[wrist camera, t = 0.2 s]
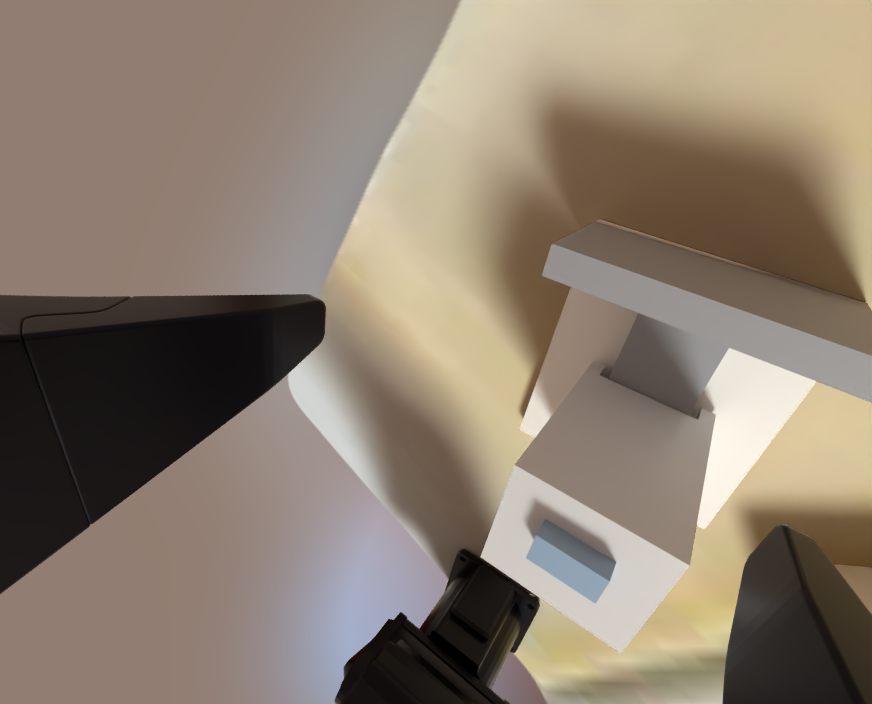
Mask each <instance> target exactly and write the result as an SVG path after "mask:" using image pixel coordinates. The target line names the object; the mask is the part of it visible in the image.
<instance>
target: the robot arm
mask: <svg viewBox="0 0 872 704" xmlns="http://www.w3.org/2000/svg"><path fill="white" fill-rule="evenodd" d="M325 318H326V306H325V303H324V302H323V301H322V300H320V299H318V298H316V297H313V296H311V295H307V294H304V295H302V294H299V295H298V294H297V295H224V296H223V295H220V296H219V295H217V296H215V295H213V296H134V297H132V298H131V297H129V296H127V297H126V296H125V297H124V296H123V297H65V296H64V297H63V296H19V295H18V296H16V295H0V594H1V593H2V592H4V591H5V590H6V589H8V588H9V587H10V586H12V585H13V584H14V583H16V582H17V581H18V580H19V579H21V578H22V577H24V576H25V575H26V574H28V573H29V572H30V571H32V570H33V569H34V568H35V567H37V566H38V565H39V564H41V563H42V562H43V561H45V560H46V559H47V558H49V557H50V556H51V555H53V554H54V553H55V552H57V551H58V550H59V549H61V548H62V547H63V546H65V545H66V544H67V543H68V542H70V541H71V540H72V539H74V538H75V537H76V536H78V535H79V534H80V533H82V532H83V531H84V530H86V529H87V528H88V527H89V526H90V524H93V523H94V522H96V521H97V520H98V519H100V518H101V517H102V516H104V515H105V514H106V513H107V512H109V511H110V510H111V509H113V508H114V507H115V506H117V505H118V504H119V503H121V502H122V501H123V500H125V499H126V498H127V497H129V496H130V495H131V494H133V493H134V492H135V491H137V490H138V489H139V488H141V487H142V486H143V485H145V484H146V483H147V482H148V481H150V480H151V479H152V478H154V477H155V476H156V475H158V474H159V473H160V472H162V471H163V470H164V469H166V468H167V467H168V466H170V465H171V464H172V463H173V462H175V461H176V460H178V459H179V458H180V457H181V456H183V455H184V454H185V453H187V452H188V451H189V450H191V449H192V448H193V447H195V446H196V445H197V444H199V443H200V442H201V441H203V440H204V439H205V438H206V437H208V436H209V435H211V434H212V433H213V432H214V431H216V430H217V429H218V428H220V427H221V426H222V425H224V424H225V423H226V422H227V421H229V420H230V419H232V418H233V417H234V416H236V415H237V414H238V413H240V412H241V411H242V410H243V409H245V408H246V407H248V406H249V405H250V404H251V403H253V402H254V401H255V400H257V399H258V398H259V397H261V396H262V395H263V394H265V393H266V392H267V391H269V390H270V389H271V388H272V387H273V386H275V385H276V384H277V383H278V382H279V381H280V380H282V379H283V378H284V377H285V376H286V375H287V374H288V373H289V372H290V371H291V370H292V369H294V368H295V367H296V366H297V365H298V364H299V363H300V362H301V361H302V360H303V359H304V358H305V357H306V356H308V355H309V354H310V353H311V352H312V351H313V350H314V349H315V348H316V347H317V346H318V345H319V344H320V343H321V342H322V340H323V338H324V335H325ZM539 607H540V604H539V602H538V601H537V600H536V599H535V598H534V597H532V596H531V595H529V594H528V593H527V592H525V591H524V590H522V589H521V588H519V587H518V586H516V585H515V584H514V583H512V582H511V581H509V580H508V579H506V578H505V577H503V576H502V575H500V574H499V573H498V572H496V571H495V570H493V569H492V568H490V567H489V566H487V565H486V564H485V563H483V562H482V561H480V560H479V559H477V558H476V557H474V556H473V555H472V554H470V553H469V552H467V551H465V550H460V551H459V553H458V554H457V556H456V559H455V562H454V565H453V568H452V571H451V574H450V577H449V580H448V583H447V587H446V590H445V593H444V594H443V596H442V597H441V598H440V600H439V601H438V603H437V604H436V606H435V607H434V609H433V610H432V611H431V613H430V614H429V616H428V617H427V619H426V620H425V621H424V623H423V624H422V626H421V627H420V629H419V628H417V627H416V626H415V625H414V624H413V623H411V622H410V621H409V620H408V619H407V617H406V616H405V615H404V614H403V613H402V612H400V614H399V615H398V616H397V617H396V618H395V619H394V620H392V619H391V620H390V619H388V621H387V622H386V623H385V625H384V626H383V627H382V628H381V630H380V631H379V632H378V634H377V635H376V636H375V637H374V638H373V639H372V640H371V641H370V642H369V643H368V644H367V645H366V646H365V647H363V648H362V649H361V650H360V651H359V652H358V653H356V654H355V655H354V656H353V657H352V658H351V659H350V660H349V661H348V662H347V663H346V665H345V666H344V680H343V682H342V684H341V687H340V689H339V692H338V694H337V696H336V698H335V703H336V704H510V703H509V702H507V701H506V700H503V699H501V698H500V697H499V696H498V695H496V693H494V692H493V691H492V690H491V689H492V686H493V685H494V683H495V681H496V678H497V677H498V675H499V672H500V670H501V668H502V666H503V664H504V662H505V660H506V658H507V656H508V654H509V652H512V653H515V652H516V650H517V649H518V647H519V645H520V643H521V641H522V639H523V637H524V635H525V634H526V632H527V630H528V628H529V626H530V624H531V622H532V621H533V619H534V617H535V615H536V613H537V611H538V609H539ZM723 704H872V614H871V612H870V611H869V610H868V609H867V607H866V606H865V605H864V603H863V602H862V601H861V599H860V598H859V597H858V595H857V594H856V593H855V591H854V590H853V589H852V588H851V586H850V585H849V584H848V582H847V581H846V580H845V578H844V577H843V576H842V574H841V573H840V572H839V570H838V569H837V568H836V566H835V565H834V564H833V563H832V561H831V560H830V559H829V557H828V556H827V555H826V553H825V552H824V551H823V549H822V548H821V547H820V545H819V544H818V543H817V542H816V540H815V539H813V538H812V537H811V536H809V535H807V534H804V533H802V532H800V531H798V530H796V529H794V528H792V527H790V526H788V525H785V524H781V525H778V526H776V527H775V528H774V529H773V530H772V531H771V532H770V533H769V534H768V535H767V537H766V538H765V539H764V540H763V541H762V542H761V543H760V544H759V546H758V547H757V548H756V549H755V550H754V551H753V552H752V554H751V555H750V556H749V558H748V559H747V561H746V564H745V566H744V570H743V575H742V580H741V585H740V589H739V594H738V599H737V604H736V609H735V614H734V619H733V624H732V629H731V634H730V639H729V644H728V650H727V656H726V663H725V674H724V689H723Z"/></svg>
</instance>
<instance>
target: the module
mask: <svg viewBox="0 0 872 704" xmlns="http://www.w3.org/2000/svg"><path fill="white" fill-rule="evenodd" d="M605 367H606V366H605V365H603V364H601V363H598V362H596V361H593V362H592V363H591V365H590V366H589V367H588V369H587V370H586V371H585V373H584V374H583V375H582V377H581V378H580V379H579V380H578V382H577V383H576V384H575V386H574V387H573V388H572V390H571V391H570V392H569V394H568V395H567V396H566V398H565V399H564V400H563V402H562V403H561V404H560V406H559V407H558V408H557V410H556V411H555V412H554V414H553V415H552V416H551V418H550V419H549V420H548V421H547V423H546V424H545V425H544V427H543V428H542V429H541V431H540V432H539V433H538V435H537V436H536V437H535V439H534V440H533V441H532V443H531V444H530V445H529V447H528V448H527V449H526V451H525V452H524V453H523V455H522V456H521V457H520V459H519V460H518V461H517V463H516V464H515V465H514V468H513V471H512V474H511V476H510V479H509V482H508V484H507V487H506V490H505V492H504V495H503V498H502V500H501V503H500V506H499V508H498V511H497V514H496V516H495V519H494V522H493V525H492V527H491V530H490V533H489V535H488V538H487V541H486V543H485V546H484V549H483V551H482V554H481V558H483V559H484V560H485V561H487V562H488V563H490V564H491V565H493V566H494V567H496V568H497V569H499V570H500V571H501V572H503V573H504V574H506V575H507V576H509V577H510V578H512V579H513V580H515V581H516V582H517V583H519V584H520V585H522V586H523V587H525V588H526V589H528V590H529V591H531V592H532V593H533V594H535V595H536V596H538V597H539V598H541V599H542V600H544V601H545V602H547V603H548V604H549V605H551V606H552V607H554V608H555V609H557V610H558V611H560V612H561V613H563V614H564V615H565V616H567V617H568V618H570V619H571V620H573V621H574V622H576V623H577V624H579V625H580V626H581V627H583V628H584V629H586V630H587V631H589V632H590V633H592V634H593V635H595V636H596V637H597V638H599V639H600V640H602V641H603V642H605V643H606V644H608V645H609V646H611V647H612V648H613V649H615V650H616V651H618V652H619V653H622V651H623V650H624V649H625V648H626V646H627V645H628V644H629V643H630V641H631V640H632V639H633V637H634V636H635V635H636V634H637V632H638V631H639V630H640V628H641V627H642V626H643V625H644V623H645V622H646V621H647V619H648V618H649V617H650V616H651V614H652V613H653V612H654V611H655V609H656V608H657V607H658V605H659V604H660V603H661V602H662V600H663V599H664V598H665V596H666V595H667V594H668V593H669V591H670V590H671V589H672V588H673V586H674V585H675V584H676V582H677V581H678V580H679V579H680V577H681V576H682V575H683V573H684V572H685V571H686V570H687V568H688V567H689V566H690V560H691V555H692V549H693V543H694V538H695V532H696V526H697V520H698V515H699V509H700V503H701V497H702V492H703V486H704V480H705V474H706V469H707V463H708V457H709V451H710V446H711V440H712V434H713V429H714V423H715V417H716V414H714V413H711V412H709V411H707V410H705V409H702V408H701V409H700V411H699V413H698V414H697V416H696V417H695V418H693V417H691V416H689V415H686V414H684V413H682V412H680V411H678V410H675V409H673V408H671V407H669V406H667V405H664V404H662V403H660V402H658V401H656V400H653V399H651V398H649V397H647V396H644V395H642V394H640V393H638V392H636V391H633V390H631V389H629V388H627V387H625V386H622V385H620V384H618V383H616V382H614V381H611V380H609V379H607V378H605V377H603V376H601V375H602V373H603V371H604V369H605Z"/></svg>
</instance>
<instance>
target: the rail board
mask: <svg viewBox="0 0 872 704" xmlns="http://www.w3.org/2000/svg"><path fill="white" fill-rule="evenodd" d="M542 276H544V277H546V278H549V279H551V280H554V281H557V282H559V283H562V284H564V285H567V286H570V287H571V288H570V291H569V293H568V296H567V299H566V302H565V304H564V307H563V310H562V313H561V316H560V318H559V321H558V324H557V327H556V329H555V332H554V335H553V338H552V341H551V343H550V346H549V349H548V352H547V354H546V357H545V360H544V363H543V366H542V368H541V371H540V374H539V377H538V379H537V382H536V385H535V388H534V391H533V393H532V396H531V399H530V402H529V404H528V407H527V410H526V413H525V416H524V418H523V421H522V424H521V427H520V429H519V430H521V431H523V432H525V433H527V434H529V435H530V436H532V437H534V438H535V437H536V436H537V435H538V433H539V432H540V431H541V429H542V428H543V427H544V425H545V424H546V423H547V421H548V420H549V419H550V418H551V416H552V415H553V414H554V412H555V411H556V410H557V408H558V407H559V406H560V404H561V403H562V402H563V400H564V399H565V398H566V396H567V395H568V394H569V392H570V391H571V390H572V388H573V387H574V386H575V384H576V383H577V382H578V380H579V379H580V378H581V377H582V375H583V374H584V373H585V371H586V370H587V369H588V367H589V366H590V365H591V363H592V362H593V361H596V362H598V363H601V364H603V365H605V366H606V367H605V369H604V371H603V373H602V375H601V376H603V377H605V378H607V379H609V380H611V381H614V382H616V383H618V384H620V385H622V386H625V387H627V388H629V389H631V390H633V391H636V392H638V393H640V394H642V395H644V396H647V397H649V398H651V399H653V400H656V401H658V402H660V403H662V404H664V405H667V406H669V407H671V408H673V409H675V410H678V411H680V412H682V413H684V414H686V415H689V416H691V417H693V418H695V417H696V416H697V414H698V413H699V411H700V409H701V408H702V409H705V410H707V411H709V412H711V413H714V414H716V417H715V423H714V429H713V434H712V440H711V446H710V451H709V457H708V463H707V469H706V474H705V480H704V486H703V492H702V497H701V503H700V509H699V515H698V520H697V526H699V527H701V528H703V529H705V528H706V527H707V525H708V524H709V523H710V522H711V520H712V519H713V518H714V516H715V515H716V514H717V512H718V511H719V510H720V508H721V507H722V506H723V504H724V503H725V502H726V500H727V499H728V498H729V496H730V495H731V494H732V492H733V491H734V490H735V489H736V487H737V486H738V485H739V483H740V482H741V481H742V479H743V478H744V477H745V475H746V474H747V473H748V471H749V470H750V469H751V467H752V466H753V465H754V463H755V462H756V461H757V459H758V458H759V457H760V456H761V454H762V453H763V452H764V450H765V449H766V448H767V446H768V445H769V444H770V442H771V441H772V440H773V438H774V437H775V436H776V434H777V433H778V432H779V430H780V429H781V428H782V426H783V425H784V424H785V423H786V421H787V420H788V419H789V417H790V416H791V415H792V413H793V412H794V411H795V409H796V408H797V407H798V405H799V404H800V403H801V401H802V400H803V399H804V397H805V396H806V395H807V393H808V392H809V391H810V390H811V388H812V387H813V386H814V384H815V383H816V382H819V383H822V384H825V385H827V386H830V387H832V388H835V389H838V390H840V391H843V392H845V393H848V394H851V395H853V396H856V397H858V398H861V399H864V400H866V401H869V402H871V403H872V311H871V309H870V307H869V306H868V304H867V303H865V302H862V301H858V300H855V299H852V298H849V297H846V296H842V295H839V294H836V293H833V292H830V291H827V290H823V289H820V288H817V287H814V286H811V285H807V284H804V283H801V282H798V281H795V280H792V279H788V278H785V277H782V276H779V275H776V274H772V273H769V272H766V271H763V270H760V269H757V268H753V267H750V266H747V265H744V264H741V263H737V262H734V261H731V260H728V259H725V258H722V257H718V256H715V255H712V254H709V253H706V252H702V251H699V250H696V249H693V248H690V247H686V246H683V245H680V244H677V243H674V242H671V241H667V240H664V239H661V238H658V237H655V236H651V235H648V234H645V233H642V232H639V231H636V230H632V229H629V228H626V227H623V226H620V225H616V224H613V223H610V222H607V221H604V220H601V219H599V220H597V221H595V222H593V223H591V224H589V225H587V226H585V227H583V228H581V229H579V230H577V231H575V232H573V233H571V234H569V235H567V236H566V237H564V238H562V239H560V240H558V241H556V242H554V243H552V244H551V247H550V251H549V254H548V257H547V260H546V263H545V266H544V269H543V273H542Z"/></svg>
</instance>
